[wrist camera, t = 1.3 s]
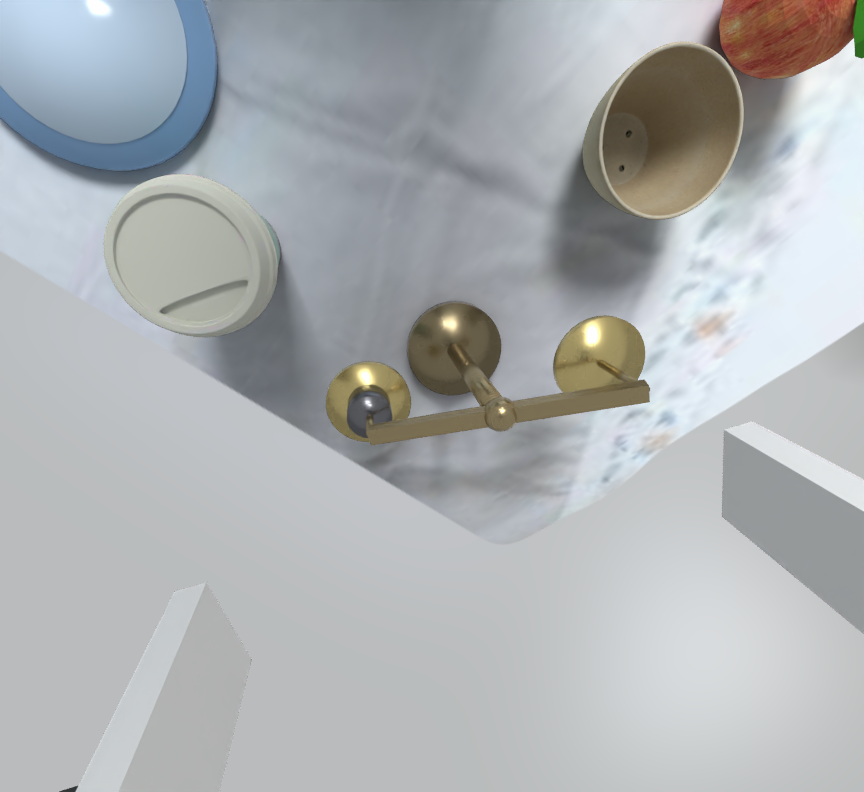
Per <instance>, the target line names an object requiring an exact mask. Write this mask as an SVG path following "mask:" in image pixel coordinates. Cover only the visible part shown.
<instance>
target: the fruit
mask: <svg viewBox="0 0 864 792" xmlns="http://www.w3.org/2000/svg"><path fill="white" fill-rule="evenodd" d="M719 31H720V40H721V47H722V49H723V51H724V53H725V55H726V56H727V58H728V60H729V62H730V63H731V65H732V66H733V67H735V68H736V69H738V70H739V71H741V72H742V73H744V74H746V75H750V76H753V77H756V78H759V79H781V78H786V77H791V76H794V75H796V74H799V73H801V72H803V71H806V70H808V69H810V68H812V67H814V66H816V65H818V64H820V63H822V62H824V61H826V60H828V59H830V58H831V57H833V56H834V55H836V54H837V53H839V52H840V51H841V50H842V49H843V48H844V47H845V46H846V45H847V44H848V43H849V42H850V41H851V40H852V39H853V38H854V42H855V56H856V57H859V58H864V0H724V1H723V7H722V12H721V18H720V24H719Z"/></svg>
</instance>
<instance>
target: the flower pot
mask: <svg viewBox="0 0 864 792" xmlns="http://www.w3.org/2000/svg"><path fill="white" fill-rule="evenodd" d="M743 121H744V107H743V98H742V93H741V89H740V86H739V83H738V80H737V78H736V76H735V74H734V72H733V70H732V69H731V67H730V66H729V64H728V63H727V62H726V60H725V59H724V58H723V57H722V56H721V55H720V54H718V53H717V52H715V51H714V50H712V49H711V48H709V47H707V46H704V45H701V44H698V43H693V42H676V43H670V44H667V45H663V46H661V47H659V48H657V49H655V50H653V51H651V52H649V53H647V54H646V55H645V56H643V57H642V58H640V59H639V60H638V61H637V62H635V63H634V64H633V65H632V66H631V67H630V68H628V69H627V70H626V71H625V72H624V73H623V74H622V75H621V76H620V77H619V78H618V79H617V80H616V82H615V83H614V84H613V85H612V86H611V87H610V89H609V90H608V91H607V92H606V94H605V95H604V97H603V98H602V100H601V101H600V103H599V104H598V106H597V108H596V109H595V111H594V113H593V115H592V117H591V120H590V122H589V125H588V127H587V130H586V134H585V138H584V143H583V164H584V169H585V172H586V175H587V177H588V179H589V181H590V183H591V185H592V186H593V188H594V189H595V190H596V192H597V193H598V194H599V195H600V196H601V197H602V198H603V199H604V200H606V201H607V202H608V203H610V204H611V205H612V206H614V207H616V208H618V209H619V210H621V211H624V212H626V213H628V214H631V215H634V216H638V217H642V218H646V219H654V220H660V219H669V218H673V217H677V216H680V215H682V214H685V213H687V212H689V211H690V210H692V209H694V208H695V207H697V206H698V205H700V204H701V203H702V202H703V201H705V200H706V199H707V198H708V197H709V196H710V195H711V194H712V193H713V192H714V191H715V190H716V188H717V187H718V186H719V185H720V183H721V182H722V180H723V179H724V178H725V176H726V175H727V173H728V171H729V169H730V168H731V166H732V163H733V161H734V159H735V156H736V154H737V151H738V148H739V144H740V140H741V136H742V130H743ZM627 132H628V134H627V135H626V133H627ZM622 166H623V167H624V170H623V169H622Z"/></svg>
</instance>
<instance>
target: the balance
mask: <svg viewBox="0 0 864 792" xmlns="http://www.w3.org/2000/svg"><path fill="white" fill-rule="evenodd" d="M407 354H408V359H409V362H410V365H411V368H412V370H413V372H414V374H415V376H416V377H417V379H418V380H419V381H420V382H421V383H422V384H423V385H424V386H426V387H427V388H429V389H430V390H432V391H434V392H437V393H440V394H445V395H460V394H464V393H468V392H470V391H471V392H472V393H473V395H474V396H475V398H476V399H477V401H478V403H479V404H480V406H481V407H474V408H468V409H462V410H456V411H450V412H444V413H438V414H432V415H426V416H420V417H414V418H408V415H409V413H410V408H411V397H410V392H409V389H408V386H407V384H406V382H405V380H404V379H403V377H402V376H401V375H400V374H399V373H398V372H397V371H396V370H394V369H393V368H391V367H390V366H387V365H385V364H382V363H379V362H371V361H366V362H359V363H355V364H352V365H350V366H348V367H346V368H344V369H343V370H342V371H340V372H339V373H338V374H337V375H336V376H335V377H334V379H333V380H332V382H331V384H330V386H329V389H328V392H327V397H326V409H327V414H328V417H329V419H330V421H331V422H332V424H333V425H334V427H335V428H336V429H337V430H338V431H339V432H340V433H342V434H343V435H345V436H347V437H349V438H351V439H354V440H357V441H363V442H370V444H371V445H376V444H383V443H389V442H396V441H402V440H409V439H415V438H422V437H428V436H434V435H441V434H447V433H454V432H460V431H467V430H473V429H480V428H486V427H489V428H491V429H492V430H495V431H500V432H501V431H506V430H509V429H510V428H512V427H513V426H514V425H515V423H518V422H525V421H531V420H538V419H544V418H550V417H557V416H563V415H570V414H576V413H583V412H589V411H596V410H602V409H608V408H615V407H621V406H628V405H634V404H641V403H647V402H650V400H649V391H650V388H649V385H648V384H647V383H646V381H645V380H639V381H638V378H639V376H640V374H641V371H642V369H643V365H644V360H645V346H644V342H643V339H642V337H641V335H640V333H639V332H638V330H637V329H636V328H635V327H634V326H633V325H631V324H630V323H628V322H627V321H625V320H622V319H620V318H617V317H613V316H605V315H604V316H596V317H592V318H589V319H586V320H584V321H582V322H580V323H579V324H577V325H576V326H574V327H573V328H572V329H571V330H570V331H569V332H568V333H567V334H566V335H565V336H564V338H563V339H562V341H561V342H560V344H559V346H558V348H557V350H556V353H555V357H554V363H553V372H554V377H555V381H556V383H557V385H558V387H559V389H560V390H561V391H562V392H563V393H560V394H553V395H547V396H541V397H535V398H529V399H523V400H517V401H511V400H509V399H507V398H505V397H502V396H501V395H500V394H499V392H498V391H497V390H496V388H495V387H494V386H493V385H492V383H491V382H490V381H489V380H488V379H489V378H490V376H491V375H492V374H493V372H494V371H495V369H496V367H497V365H498V362H499V359H500V354H501V339H500V335H499V332H498V329H497V327H496V325H495V324H494V322H493V321H492V320H491V318H490V317H489V316H488V315H487V314H485V313H484V312H483V311H482V310H480V309H479V308H477V307H475V306H473V305H471V304H468V303H464V302H457V301H453V302H445V303H441V304H438V305H436V306H434V307H432V308H430V309H429V310H427V311H426V312H424V313H423V314H422V315H421V316H420V317H419V318H418V320H417V321H416V322H415V324H414V325H413V327H412V329H411V331H410V334H409V338H408V343H407ZM407 418H408V419H407Z"/></svg>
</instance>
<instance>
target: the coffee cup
mask: <svg viewBox="0 0 864 792" xmlns="http://www.w3.org/2000/svg"><path fill="white" fill-rule="evenodd" d="M104 257H105V262H106V266H107V269H108V272H109V275H110V277H111V279H112V281H113V283H114V285H115V287H116V289H117V290H118V292H119V293H120V295H121V296H122V297H123V298H124V300H125V301H126V302H127V303H128V304H129V305H130V306H131V307H132V308H133V309H134V310H135V311H136V312H137V313H139V314H140V315H141V316H143V317H144V318H145V319H147V320H149V321H150V322H152V323H154V324H156V325H158V326H160V327H162V328H165V329H167V330H170V331H173V332H176V333H179V334H183V335H187V336H194V337H214V336H220V335H225V334H229V333H232V332H235V331H238V330H240V329H242V328H244V327H246V326H247V325H249V324H250V323H252V322H253V321H254V320H255V319H257V318H258V317H259V316H260V315H261V313H262V312H263V311H264V310H265V308H266V307H267V305H268V304H269V302H270V300H271V298H272V296H273V293H274V290H275V287H276V283H277V275H278V265H279V261H280V244H279V240H278V237H277V235H276V233H275V231H274V229H273V228H272V227H271V225H270V224H269V223H268V222H267V221H266V220H265V219H264V218H263V217H262V216H260V215H259V214H258V213H257V212H256V211H255V210H254V209H253V207H252V206H251V205H250V204H249V203H248V202H247V201H245V200H244V199H243V198H242V197H241V196H240V195H238V194H237V193H236V192H234V191H233V190H231V189H229V188H228V187H226V186H224V185H222V184H220V183H218V182H216V181H213V180H210V179H207V178H204V177H200V176H195V175H188V174H172V175H165V176H160V177H157V178H154V179H151V180H148V181H146V182H143V183H141V184H140V185H138V186H136V187H135V188H133V189H132V190H131V191H129V192H128V193H127V194H126V195H125V196H124V197H123V198H122V199H121V200H120V202H119V203H118V205H117V206H116V208H115V209H114V211H113V213H112V215H111V217H110V219H109V221H108V224H107V227H106V231H105V235H104Z"/></svg>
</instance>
